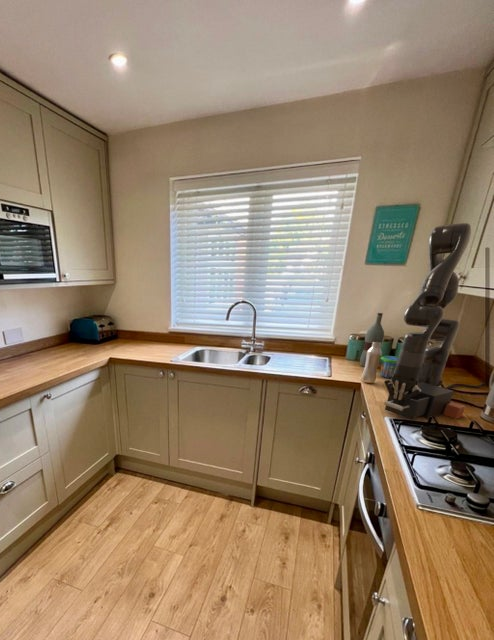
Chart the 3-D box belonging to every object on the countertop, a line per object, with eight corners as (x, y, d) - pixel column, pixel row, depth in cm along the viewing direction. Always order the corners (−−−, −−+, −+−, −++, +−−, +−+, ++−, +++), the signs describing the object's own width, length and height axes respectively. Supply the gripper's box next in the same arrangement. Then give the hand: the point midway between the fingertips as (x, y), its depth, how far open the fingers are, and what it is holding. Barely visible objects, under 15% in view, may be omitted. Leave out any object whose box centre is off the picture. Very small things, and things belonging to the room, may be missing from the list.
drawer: (403, 422, 119) (409, 404, 116) (376, 412, 127) (380, 394, 125) (430, 414, 127) (436, 396, 124) (403, 404, 135) (408, 387, 132)
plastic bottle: (367, 384, 160) (377, 344, 153) (356, 380, 166) (366, 341, 159) (377, 384, 162) (388, 343, 154) (367, 379, 168) (377, 340, 161)
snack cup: (404, 376, 175) (410, 358, 171) (407, 382, 166) (413, 362, 162) (371, 372, 181) (376, 354, 177) (372, 377, 172) (377, 358, 168)
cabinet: (427, 418, 125) (434, 396, 122) (396, 407, 135) (403, 386, 131) (446, 412, 131) (454, 390, 128) (416, 402, 140) (422, 382, 137)
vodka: (371, 368, 187) (385, 314, 176) (355, 364, 194) (367, 312, 183) (379, 366, 192) (392, 313, 181) (363, 362, 199) (375, 311, 188)
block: (449, 412, 131) (452, 402, 129) (461, 416, 127) (465, 406, 126) (443, 414, 129) (446, 404, 127) (455, 418, 125) (459, 408, 124)
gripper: (435, 367, 113) (420, 413, 119) (397, 357, 123) (385, 400, 130) (423, 369, 109) (408, 416, 116) (384, 359, 120) (373, 403, 127)
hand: (396, 408), depth 123 cm, fingers closed
